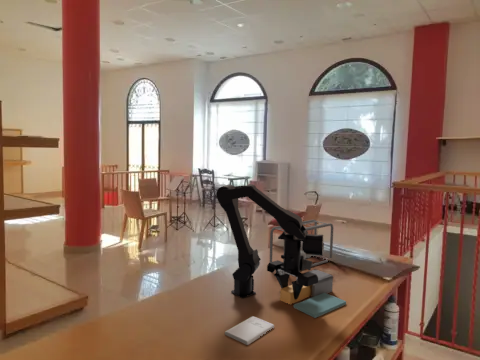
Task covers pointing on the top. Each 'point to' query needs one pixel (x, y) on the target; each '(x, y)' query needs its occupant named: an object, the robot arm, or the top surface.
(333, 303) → the mat
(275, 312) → the top surface
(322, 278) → the dispenser
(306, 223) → the newton's cradle
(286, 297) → the tan rectangular slab
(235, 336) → the external hard drive
